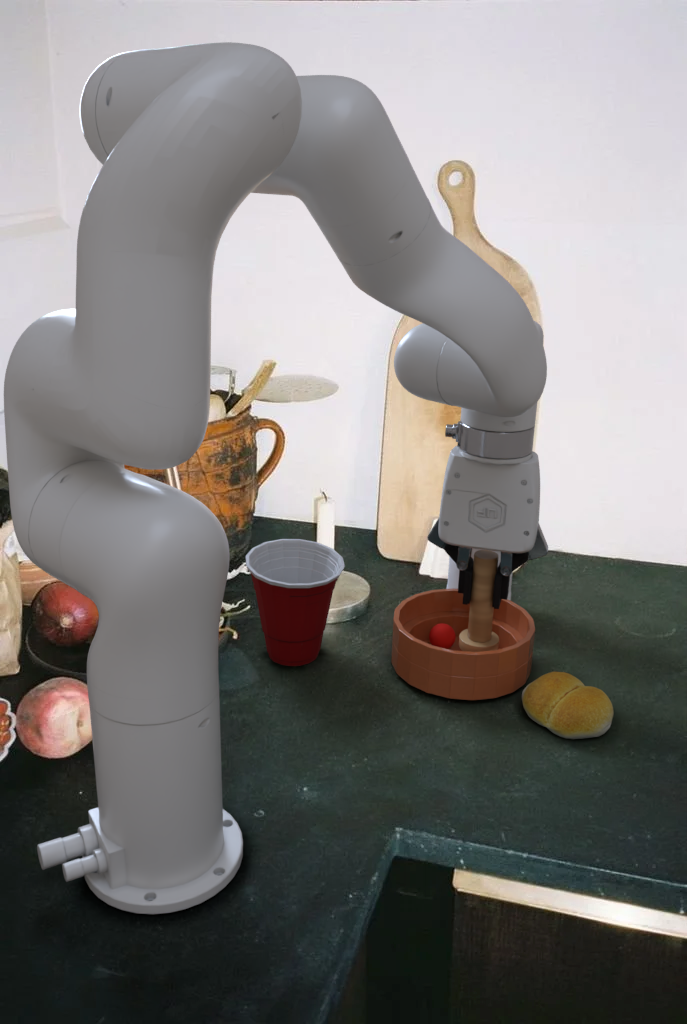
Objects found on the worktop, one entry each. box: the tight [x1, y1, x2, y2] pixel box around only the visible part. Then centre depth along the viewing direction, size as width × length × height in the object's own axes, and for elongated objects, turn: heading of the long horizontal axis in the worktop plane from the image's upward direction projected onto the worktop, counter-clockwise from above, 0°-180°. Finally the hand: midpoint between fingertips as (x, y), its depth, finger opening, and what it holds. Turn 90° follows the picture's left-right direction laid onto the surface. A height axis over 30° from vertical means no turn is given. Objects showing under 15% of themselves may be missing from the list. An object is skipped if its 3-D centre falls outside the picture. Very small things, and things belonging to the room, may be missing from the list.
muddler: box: [459, 550, 499, 652], centre depth 102 cm, size 4×4×11 cm
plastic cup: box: [245, 538, 346, 667], centre depth 104 cm, size 11×11×12 cm
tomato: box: [429, 623, 456, 649], centre depth 106 cm, size 3×3×3 cm
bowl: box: [391, 588, 536, 701], centre depth 103 cm, size 15×15×6 cm
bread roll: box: [521, 671, 615, 740], centre depth 95 cm, size 8×9×4 cm
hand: (482, 600), depth 102 cm, fingers closed on muddler, 2 cm apart
